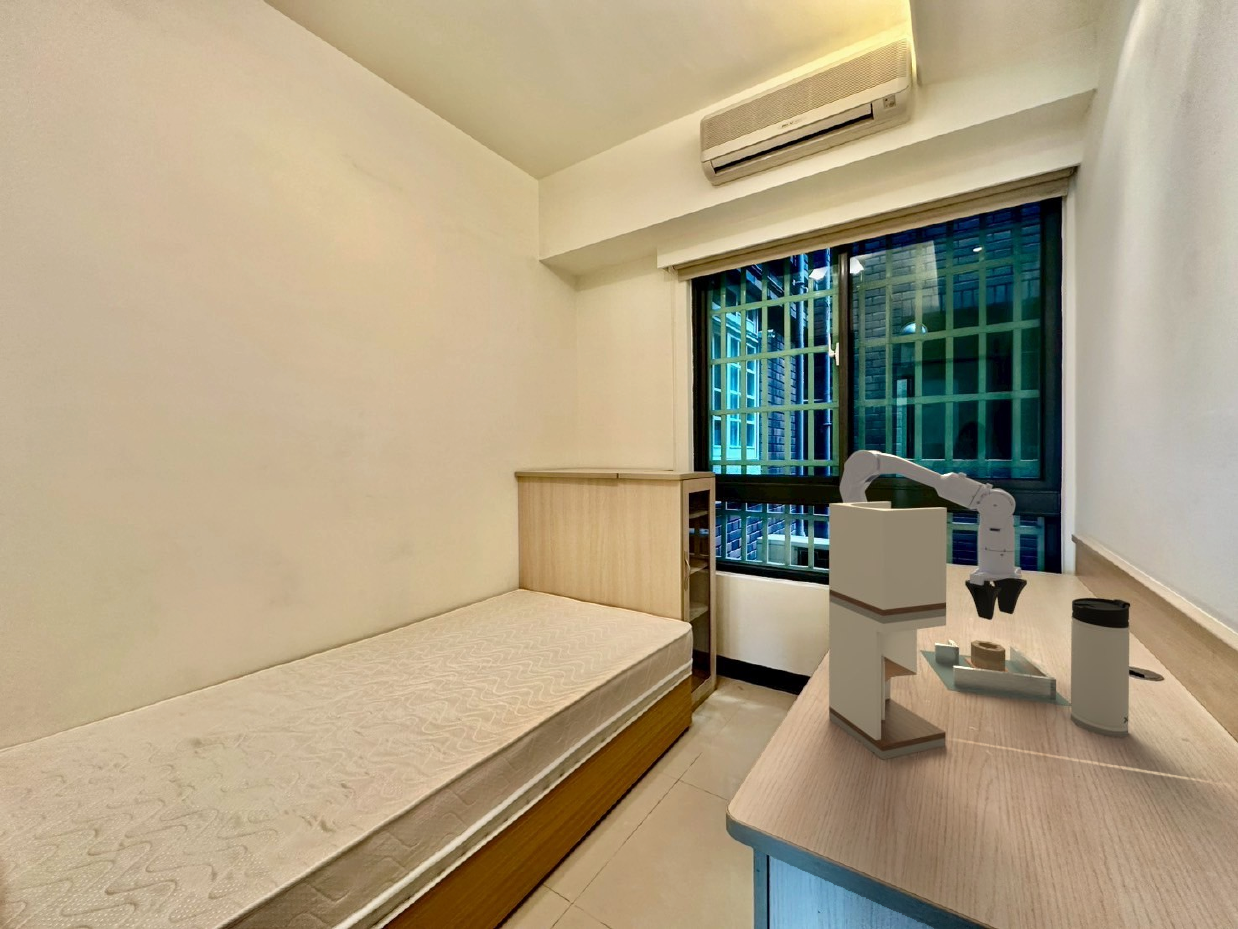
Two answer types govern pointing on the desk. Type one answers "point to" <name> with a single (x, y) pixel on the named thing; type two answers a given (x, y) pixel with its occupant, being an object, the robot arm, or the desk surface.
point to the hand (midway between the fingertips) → (995, 615)
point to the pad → (978, 667)
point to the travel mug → (1100, 665)
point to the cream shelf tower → (882, 618)
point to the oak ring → (988, 655)
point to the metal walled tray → (1000, 674)
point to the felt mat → (947, 678)
